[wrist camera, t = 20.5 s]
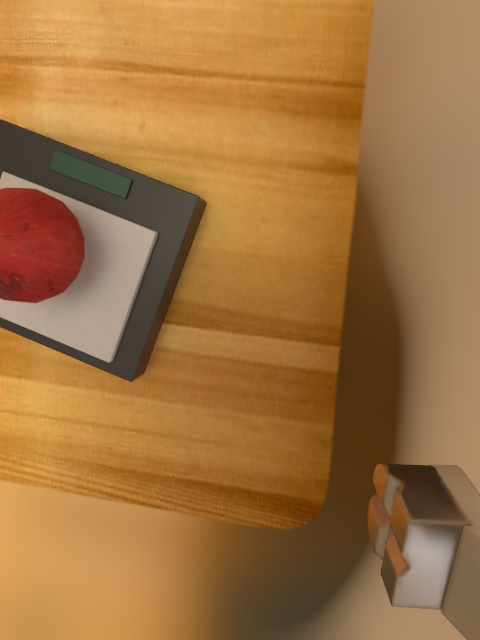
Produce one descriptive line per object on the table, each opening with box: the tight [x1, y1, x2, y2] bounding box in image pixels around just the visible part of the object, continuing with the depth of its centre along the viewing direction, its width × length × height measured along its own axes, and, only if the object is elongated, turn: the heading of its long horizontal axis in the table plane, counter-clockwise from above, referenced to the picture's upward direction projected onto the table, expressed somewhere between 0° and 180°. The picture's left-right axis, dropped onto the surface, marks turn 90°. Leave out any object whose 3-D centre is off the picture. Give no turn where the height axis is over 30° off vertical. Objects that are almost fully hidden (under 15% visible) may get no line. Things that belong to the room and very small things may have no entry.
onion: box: [0, 188, 85, 303], centre depth 23 cm, size 6×6×8 cm
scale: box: [0, 120, 207, 382], centre depth 28 cm, size 13×12×3 cm
